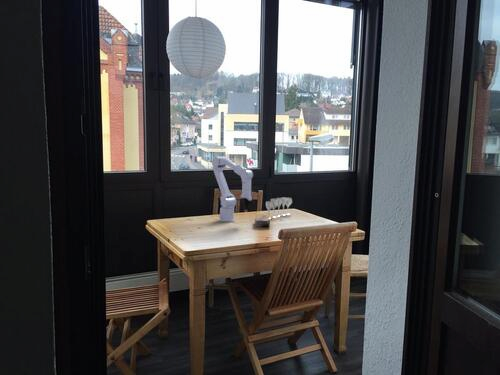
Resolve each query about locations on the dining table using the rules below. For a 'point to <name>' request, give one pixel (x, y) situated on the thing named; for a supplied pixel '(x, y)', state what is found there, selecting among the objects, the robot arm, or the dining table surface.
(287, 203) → the goblet set
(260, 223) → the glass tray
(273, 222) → the dining table surface
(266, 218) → the walnut shelf
